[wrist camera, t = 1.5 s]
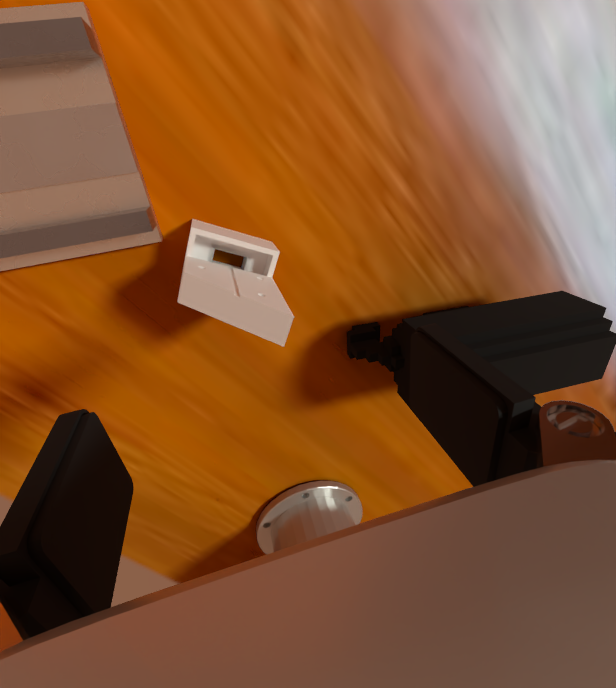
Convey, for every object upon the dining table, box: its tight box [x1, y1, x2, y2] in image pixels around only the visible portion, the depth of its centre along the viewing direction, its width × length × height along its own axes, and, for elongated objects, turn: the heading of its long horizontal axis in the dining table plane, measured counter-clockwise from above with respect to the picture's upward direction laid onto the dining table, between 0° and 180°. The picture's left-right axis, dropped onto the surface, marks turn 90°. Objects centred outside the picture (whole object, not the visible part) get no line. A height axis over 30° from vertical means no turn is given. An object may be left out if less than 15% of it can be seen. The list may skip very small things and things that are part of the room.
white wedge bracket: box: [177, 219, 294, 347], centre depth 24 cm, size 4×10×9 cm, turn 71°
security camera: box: [347, 291, 616, 419], centre depth 30 cm, size 7×18×10 cm, turn 94°
